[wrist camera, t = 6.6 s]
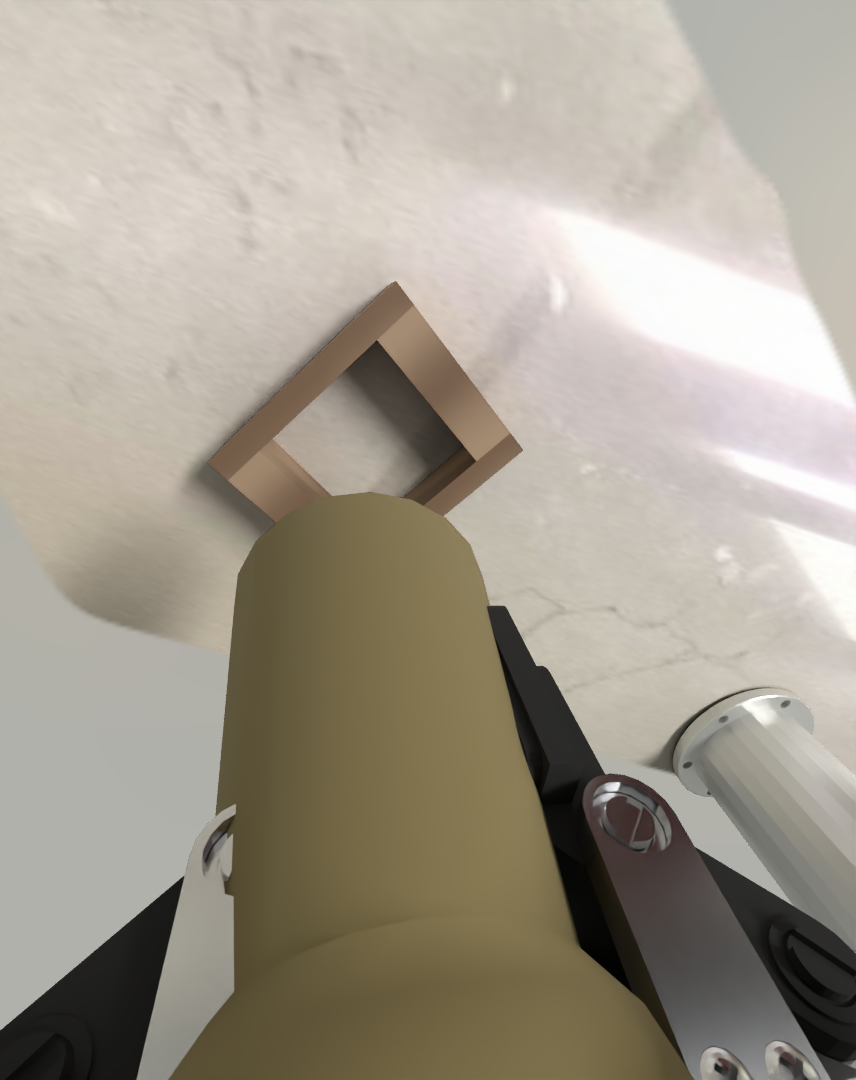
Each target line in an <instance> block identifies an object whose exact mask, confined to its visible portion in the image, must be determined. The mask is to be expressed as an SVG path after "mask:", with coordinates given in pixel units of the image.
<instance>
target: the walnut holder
mask: <svg viewBox="0 0 856 1080" xmlns="http://www.w3.org/2000/svg"><path fill="white" fill-rule="evenodd" d="M376 340H377V341H378V342H379V343H380V344H381V345H382V347H383V348H384V349H385V350H386V352H387V353H388V354H389V355H390V356H391V358H392V359H393V360H394V361H395V362H396V364H397V365H398V366H399V367H400V369H401V370H402V371H403V372H404V373H405V375H406V376H407V377H408V378H409V380H410V381H411V382H412V383H413V384H414V386H415V387H416V388H417V389H418V391H419V392H420V393H421V394H422V395H423V397H424V398H425V399H426V400H427V401H428V403H429V404H430V405H431V406H432V408H433V409H434V410H435V411H436V412H437V414H438V415H439V416H440V417H441V419H442V420H443V421H444V422H445V423H446V425H447V426H448V427H449V428H450V429H451V431H452V432H453V433H454V434H455V436H456V437H457V438H458V439H459V440H460V442H461V443H462V444H463V445H464V447H462V448H461V449H460V450H459V451H458V452H457V453H455V454H454V455H453V456H452V457H451V458H449V459H448V460H447V461H446V462H445V463H444V464H442V465H441V466H440V467H439V468H438V469H437V470H435V471H434V472H433V473H432V474H431V475H429V476H428V477H427V478H426V479H425V480H424V481H422V482H421V483H420V484H419V485H418V486H417V487H415V488H414V489H413V490H412V491H411V492H409V493H408V494H407V495H406V496H405V497H404V498H405V499H410V500H413V501H415V502H417V503H419V504H421V505H422V506H424V507H426V508H428V509H430V510H432V511H434V512H435V513H437V514H439V515H441V516H444V515H445V514H447V513H448V512H449V511H450V510H451V509H453V508H454V507H455V506H456V505H457V504H459V503H460V502H461V501H462V500H464V499H465V498H466V497H467V496H468V495H470V494H471V493H472V492H473V491H474V490H476V489H477V488H478V487H479V486H481V485H482V484H483V483H484V482H485V481H487V480H488V479H489V478H490V477H491V476H493V475H494V474H495V473H496V472H498V471H499V470H500V469H501V468H502V467H504V466H505V465H506V464H507V463H508V462H510V461H511V460H512V459H513V458H515V457H516V456H517V455H518V454H519V453H521V452H522V451H523V449H522V448H521V447H520V445H519V444H518V443H517V441H516V440H515V439H514V437H513V436H512V435H511V433H510V432H509V431H508V429H507V428H506V427H505V425H504V424H503V423H502V421H501V420H500V419H499V417H498V416H497V415H496V413H495V412H494V411H493V409H492V408H491V407H490V405H489V404H488V403H487V401H486V400H485V399H484V397H483V396H482V395H481V393H480V392H479V391H478V389H477V388H476V387H475V385H474V384H473V383H472V381H471V380H470V379H469V377H468V376H467V375H466V373H465V372H464V371H463V369H462V368H461V367H460V365H459V364H458V363H457V362H456V360H455V359H454V358H453V356H452V355H451V354H450V352H449V351H448V350H447V348H446V347H445V346H444V344H443V343H442V342H441V340H440V339H439V338H438V336H437V335H436V334H435V332H434V331H433V330H432V328H431V327H430V326H429V324H428V323H427V322H426V320H425V319H424V318H423V316H422V315H421V314H420V312H419V311H418V310H417V308H416V307H415V306H414V304H413V303H412V302H411V300H410V299H409V298H408V296H407V295H406V294H405V292H404V291H403V290H402V288H401V287H400V286H399V284H398V283H397V282H396V281H395V282H393V283H391V284H390V285H389V286H388V287H387V288H386V289H385V290H383V291H382V292H381V293H380V294H379V295H378V296H377V297H376V298H375V299H374V300H373V301H372V302H371V303H370V304H369V305H368V306H367V307H366V308H365V309H364V310H363V311H362V312H361V313H360V314H359V315H358V316H357V317H356V318H354V319H353V320H352V321H351V322H350V323H349V324H348V325H347V326H346V327H345V328H344V329H343V330H342V331H341V332H340V333H339V334H338V335H337V336H336V337H335V338H334V339H333V340H332V341H331V342H330V343H329V344H328V345H326V346H325V347H324V348H323V349H322V350H321V351H320V352H319V353H318V354H317V355H316V356H315V357H314V358H313V359H312V360H311V361H310V362H309V363H308V364H307V365H306V366H305V367H304V368H303V369H302V370H301V371H300V372H299V373H297V374H296V375H295V376H294V377H293V378H292V379H291V380H290V381H289V382H288V383H287V384H286V385H285V386H284V387H283V388H282V389H281V390H280V391H279V392H278V393H277V394H276V395H275V396H274V397H273V398H272V399H271V400H270V401H268V402H267V403H266V404H265V405H264V406H263V407H262V408H261V409H260V410H259V411H258V412H257V413H256V414H255V415H254V416H253V417H252V418H251V419H250V420H249V421H248V422H247V423H246V424H245V425H244V426H243V427H242V428H240V429H239V430H238V431H237V432H236V433H235V434H234V435H233V436H232V437H231V438H230V439H229V440H228V441H227V442H226V443H225V444H224V445H223V446H222V447H221V448H220V449H219V450H218V451H217V453H216V454H215V455H214V456H213V457H212V458H211V459H210V461H209V462H208V464H209V465H210V466H211V467H212V468H214V469H215V470H216V471H217V472H218V473H219V474H221V475H222V476H223V477H224V478H225V479H226V480H227V481H229V482H230V483H231V484H232V485H233V486H234V487H236V488H237V489H238V490H239V491H240V492H241V493H243V494H244V495H245V496H246V497H247V498H248V499H249V500H251V501H252V502H253V503H254V504H255V505H256V506H258V507H259V508H260V509H261V510H262V511H263V512H265V513H266V514H267V515H268V516H269V517H270V518H271V519H273V520H274V521H275V522H276V523H277V522H278V521H279V520H281V519H282V518H283V517H284V516H285V515H286V514H288V513H291V512H293V511H295V510H297V509H300V508H302V507H304V506H307V505H309V504H311V503H314V502H316V501H318V500H321V499H323V498H325V497H331V495H330V494H329V493H328V492H327V491H326V490H325V489H324V488H323V487H322V486H321V485H320V484H319V483H318V482H317V481H316V480H314V479H313V478H312V477H311V476H310V475H309V474H308V473H307V472H306V471H305V470H304V469H303V468H302V467H301V466H300V465H299V464H298V463H297V462H296V461H295V460H294V459H293V458H291V457H290V456H289V455H288V454H287V453H286V452H285V451H284V450H283V449H282V448H281V447H280V446H279V445H278V444H277V443H276V442H275V441H274V440H273V439H272V438H274V437H275V436H276V435H277V434H278V433H279V432H280V431H281V430H282V429H283V428H284V427H285V426H286V425H287V424H288V423H289V422H291V421H292V420H293V419H294V418H295V417H296V416H297V415H298V414H299V413H300V412H301V411H302V410H303V409H304V408H305V407H306V406H307V405H309V404H310V403H311V402H312V401H313V400H314V399H315V398H316V397H317V396H318V395H319V394H320V393H321V392H322V391H323V390H324V389H326V388H327V387H328V386H329V385H330V384H331V383H332V382H333V381H334V380H335V379H336V378H337V377H338V376H339V375H340V374H341V373H342V372H344V371H345V370H346V369H347V368H348V367H349V366H350V365H351V364H352V363H353V362H354V361H355V360H356V359H357V358H358V357H359V356H361V355H362V354H363V353H364V352H365V351H366V350H367V349H368V348H369V347H370V346H371V345H372V344H373V343H374V342H375V341H376Z"/></svg>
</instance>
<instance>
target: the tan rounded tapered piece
mask: <svg viewBox="0 0 856 1080" xmlns="http://www.w3.org/2000/svg"><path fill="white" fill-rule="evenodd" d="M487 606H490V604H489V600H488V596H487V592H486V589H485V585H484V581H483V577H482V574H481V571H480V569H479V566H478V564H477V561H476V559H475V556H474V553H473V551H472V548H471V546H470V544H469V543H468V542H467V541H466V540H465V538H464V537H463V536H462V535H461V534H460V533H459V532H458V531H457V530H456V529H455V527H454V526H453V525H452V524H451V523H450V522H449V521H448V520H447V519H446V518H445V517H443V516H441V515H439V514H437V513H435V512H434V511H432V510H430V509H428V508H426V507H424V506H422V505H421V504H419V503H417V502H415V501H413V500H410V499H405V498H400V497H394V496H389V495H383V494H378V493H373V492H366V493H357V494H348V495H340V496H331V497H325V498H323V499H321V500H318V501H316V502H314V503H311V504H309V505H307V506H304V507H302V508H300V509H297V510H295V511H293V512H291V513H288V514H286V515H285V516H284V517H283V518H282V519H281V520H279V521H278V522H277V523H276V524H275V525H274V526H273V527H272V528H270V529H269V530H268V531H267V532H266V533H265V534H264V535H262V536H261V537H260V538H259V539H258V540H257V541H256V542H255V544H254V546H253V548H252V550H251V551H250V553H249V555H248V557H247V559H246V561H245V562H244V564H243V566H242V568H241V570H240V572H239V573H238V579H237V588H236V597H235V606H234V616H233V627H232V639H231V650H230V661H229V672H228V684H227V694H226V706H225V717H224V727H223V738H222V750H221V761H220V773H219V783H218V794H217V805H216V816H217V815H218V814H219V813H220V812H221V811H223V810H225V809H227V808H229V807H231V806H233V805H234V804H236V814H235V816H234V818H233V820H232V822H231V824H230V827H229V829H228V831H227V839H228V838H229V837H230V836H231V835H232V834H233V847H232V871H231V875H230V879H229V880H228V881H224V887H225V893H224V894H227V895H231V896H233V905H234V992H233V993H232V995H231V996H230V997H229V998H228V999H227V1001H226V1002H225V1003H224V1004H223V1005H222V1007H221V1008H220V1009H219V1010H218V1012H217V1013H216V1014H215V1015H214V1016H213V1018H212V1019H211V1020H210V1021H209V1022H208V1024H207V1025H206V1026H205V1028H204V1029H203V1031H202V1032H201V1034H200V1035H199V1036H198V1038H197V1039H196V1041H195V1042H194V1044H193V1045H192V1046H191V1048H190V1049H189V1051H188V1052H187V1054H186V1055H185V1056H184V1058H183V1059H182V1061H181V1062H180V1063H179V1065H178V1066H177V1068H176V1069H175V1071H174V1072H173V1073H172V1075H171V1076H170V1078H169V1079H168V1080H695V1079H694V1078H693V1076H692V1075H691V1073H690V1072H689V1070H688V1069H687V1067H686V1066H685V1064H684V1063H683V1061H682V1060H681V1058H680V1057H679V1055H678V1054H677V1052H676V1051H675V1049H674V1047H673V1046H672V1044H671V1043H670V1041H669V1040H668V1038H667V1037H666V1035H665V1034H664V1032H663V1031H662V1029H661V1028H660V1026H659V1025H658V1023H657V1022H656V1020H655V1019H654V1017H653V1016H652V1014H651V1013H650V1011H649V1010H648V1008H647V1007H646V1005H645V1004H644V1003H643V1002H642V1001H641V1000H640V999H638V998H637V997H636V996H635V995H634V994H633V993H632V992H630V991H629V990H628V989H627V988H626V987H625V986H624V985H622V984H621V983H620V982H619V981H618V980H617V979H616V978H614V977H613V976H612V975H611V974H610V973H609V972H607V971H606V970H605V969H604V968H603V967H602V966H601V965H599V964H598V963H597V962H596V961H595V960H594V959H593V958H591V957H590V956H589V955H588V954H587V953H586V952H585V951H583V950H582V949H581V947H580V944H579V940H578V936H577V932H576V928H575V925H574V921H573V917H572V913H571V910H570V906H569V902H568V898H567V894H566V891H565V887H564V883H563V879H562V876H561V872H560V868H559V864H558V860H557V857H556V853H555V849H554V847H553V843H552V840H551V836H550V832H549V828H548V824H547V821H546V817H545V813H544V809H543V805H542V803H541V800H540V797H539V794H538V790H537V788H536V786H535V783H534V781H533V779H532V776H531V774H530V771H529V768H528V765H527V762H526V758H525V754H524V751H523V747H522V744H521V741H520V737H519V734H518V731H517V728H516V724H515V718H514V713H513V709H512V705H511V700H510V696H509V692H508V688H507V684H506V680H505V676H504V672H503V668H502V664H501V660H500V656H499V652H498V649H497V645H496V642H495V638H494V635H493V631H492V627H491V623H490V619H489V615H488V610H487ZM216 816H215V817H216Z"/></svg>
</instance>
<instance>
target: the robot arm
mask: <svg viewBox="0 0 856 1080" xmlns="http://www.w3.org/2000/svg"><path fill="white" fill-rule="evenodd" d="M487 610H488V615H489V619H490V623H491V627H492V631H493V635H494V638H495V642H496V645H497V649H498V652H499V656H500V660H501V664H502V668H503V672H504V676H505V680H506V684H507V688H508V692H509V696H510V700H511V705H512V709H513V713H514V718H515V724H516V728H517V731H518V734H519V737H520V741H521V744H522V747H523V751H524V754H525V758H526V762H527V765H528V768H529V771H530V774H531V776H532V779H533V781H534V783H535V786H536V788H537V790H538V794H539V797H540V800H541V803H542V805H543V809H544V813H545V817H546V821H547V824H548V828H549V832H550V836H551V840H552V843H553V847H554V849H555V853H556V857H557V860H558V864H559V868H560V872H561V876H562V879H563V883H564V887H565V891H566V894H567V898H568V902H569V906H570V910H571V913H572V917H573V921H574V925H575V928H576V932H577V936H578V940H579V944H580V947H581V949H582V950H583V951H585V952H586V953H587V954H588V955H589V956H590V957H591V958H593V959H594V960H595V961H596V962H597V963H598V964H599V965H601V966H602V967H603V968H604V969H605V970H606V971H607V972H609V973H610V974H611V975H612V976H613V977H614V978H616V979H617V980H618V981H619V982H620V983H621V984H622V985H624V986H625V987H626V988H627V989H628V990H629V991H630V992H632V993H633V994H634V995H635V996H636V997H637V998H638V999H640V1000H641V1001H642V1002H643V1003H644V1004H645V1005H646V1007H647V1008H648V1010H649V1011H650V1013H651V1014H652V1016H653V1017H654V1019H655V1020H656V1022H657V1023H658V1025H659V1026H660V1028H661V1029H662V1031H663V1032H664V1034H665V1035H666V1037H667V1038H668V1040H669V1041H670V1043H671V1044H672V1046H673V1047H674V1049H675V1051H676V1052H677V1054H678V1055H679V1057H680V1058H681V1060H682V1061H683V1063H684V1064H685V1066H686V1067H687V1069H688V1070H689V1072H690V1073H691V1075H692V1076H693V1078H694V1079H695V1080H856V776H855V775H854V774H853V773H852V772H851V771H850V770H848V769H847V768H846V767H845V766H844V765H843V764H842V763H841V762H840V761H839V760H838V759H837V758H836V757H835V756H834V755H832V754H831V753H830V752H829V751H828V750H827V749H826V748H825V747H824V746H823V745H822V744H821V743H820V742H819V741H817V740H816V739H815V738H814V737H813V736H812V732H813V727H814V719H813V714H812V712H811V709H810V708H809V707H808V706H807V705H806V703H804V702H803V701H802V700H801V699H800V698H798V697H797V696H796V695H795V694H793V693H791V692H789V691H786V690H782V689H776V688H762V689H756V690H750V691H746V692H743V693H740V694H736V695H734V696H732V697H729V698H727V699H725V700H723V701H721V702H719V703H718V704H716V705H714V706H713V707H711V708H709V709H708V710H707V711H705V712H704V713H703V714H702V715H700V716H699V717H698V718H697V719H696V720H695V721H694V722H693V723H692V724H691V725H690V726H689V727H688V728H687V729H686V731H685V732H684V733H683V735H682V736H681V738H680V740H679V742H678V743H677V745H676V748H675V752H674V755H673V768H674V771H675V774H676V775H677V777H678V778H679V780H680V781H681V783H682V784H683V785H684V786H685V787H686V788H687V789H688V790H690V791H691V792H693V793H695V794H698V795H702V796H706V797H714V798H715V800H716V801H717V802H718V804H719V805H720V807H721V808H722V809H723V811H724V812H725V813H726V815H727V816H728V817H729V819H730V820H731V821H732V823H733V824H734V825H735V827H736V828H737V830H738V831H739V832H740V834H741V835H742V836H743V838H744V839H745V840H746V842H747V843H748V845H749V846H750V847H751V849H752V850H753V851H754V853H755V854H756V855H757V857H758V858H759V859H760V861H761V862H762V863H763V865H764V866H765V867H766V869H767V870H768V872H769V873H770V874H771V876H772V877H773V878H774V880H775V881H776V883H777V884H778V885H779V887H780V888H781V889H782V891H783V892H784V893H785V895H786V896H787V897H788V899H789V900H790V902H791V903H792V904H793V906H792V905H790V904H789V903H787V902H786V901H784V900H782V899H780V898H779V897H777V896H776V895H774V894H772V893H771V892H769V891H767V890H766V889H764V888H762V887H761V886H759V885H757V884H756V883H754V882H752V881H751V880H749V879H747V878H746V877H744V876H742V875H741V874H739V873H737V872H736V871H734V870H732V869H731V868H729V867H727V866H726V865H724V864H722V863H721V862H719V861H717V860H716V859H714V858H712V857H711V856H709V855H707V854H706V853H704V852H702V851H701V850H699V849H697V848H696V847H695V846H694V845H693V843H692V841H691V839H690V838H689V836H688V834H687V833H686V831H685V829H684V828H683V826H682V824H681V823H680V821H679V819H678V817H677V816H676V814H675V812H674V811H673V810H672V808H671V807H670V806H669V804H668V803H667V802H666V801H665V800H664V799H663V798H662V797H661V796H660V795H659V794H658V793H657V792H656V791H654V790H653V789H652V788H650V787H649V786H647V785H645V784H644V783H642V782H641V781H639V780H636V779H634V778H631V777H628V776H625V775H619V774H605V773H604V771H603V770H602V768H601V766H600V764H599V762H598V761H597V759H596V757H595V755H594V753H593V751H592V749H591V747H590V746H589V744H588V742H587V740H586V738H585V736H584V734H583V733H582V731H581V729H580V727H579V725H578V723H577V722H576V720H575V718H574V716H573V714H572V712H571V710H570V709H569V707H568V705H567V703H566V701H565V699H564V697H563V696H562V694H561V692H560V690H559V688H558V686H557V685H556V683H555V681H554V679H553V677H552V675H551V673H550V672H549V671H548V669H547V668H545V667H544V666H536V665H535V663H534V661H533V659H532V657H531V655H530V653H529V651H528V649H527V647H526V645H525V643H524V641H523V639H522V637H521V635H520V633H519V631H518V629H517V627H516V626H515V624H514V622H513V620H512V618H511V616H510V614H509V612H508V610H507V608H506V607H505V606H487ZM235 814H236V804H234V805H233V806H231V807H229V808H227V809H225V810H223V811H221V812H220V813H219V814H218V815H217V816H216V817H214V818H213V819H212V820H211V821H210V822H209V823H207V825H206V826H205V828H204V829H203V830H202V832H201V833H200V834H199V836H198V837H197V839H196V840H195V843H194V846H193V848H192V851H191V853H190V856H189V859H188V864H187V868H186V873H185V876H183V877H182V878H181V879H180V880H179V881H177V882H176V883H175V884H174V885H173V886H171V887H170V888H169V889H168V890H167V891H165V893H163V894H162V895H161V896H160V897H158V898H157V899H156V900H155V901H154V902H153V903H151V904H150V905H149V906H148V907H146V908H145V909H144V910H143V911H142V912H141V913H139V914H138V915H137V916H136V917H135V918H134V919H132V920H131V921H130V922H129V923H127V924H126V925H125V926H124V927H123V928H122V929H120V930H119V931H118V932H117V933H116V934H114V935H113V936H112V937H111V938H110V939H109V940H107V941H106V942H105V943H104V944H103V945H101V946H100V947H99V948H98V949H97V950H95V951H94V952H93V953H92V954H91V955H89V956H88V957H87V958H86V959H85V960H84V961H82V962H81V963H80V964H79V965H78V966H76V967H75V968H74V969H73V970H72V971H71V972H69V973H68V974H67V975H66V976H65V977H64V978H62V979H61V980H60V981H59V982H57V983H56V984H55V985H54V986H53V987H52V988H50V989H49V990H48V991H47V992H46V993H44V994H43V995H42V996H41V997H40V998H38V999H37V1000H36V1001H35V1002H34V1003H33V1004H31V1005H30V1006H29V1007H28V1008H27V1009H25V1010H24V1011H23V1012H22V1013H21V1014H19V1015H18V1016H17V1017H16V1018H15V1019H13V1020H12V1021H11V1022H10V1023H9V1024H8V1025H6V1026H5V1027H4V1028H3V1029H2V1030H0V1080H168V1079H169V1078H170V1076H171V1075H172V1073H173V1072H174V1071H175V1069H176V1068H177V1066H178V1065H179V1063H180V1062H181V1061H182V1059H183V1058H184V1056H185V1055H186V1054H187V1052H188V1051H189V1049H190V1048H191V1046H192V1045H193V1044H194V1042H195V1041H196V1039H197V1038H198V1036H199V1035H200V1034H201V1032H202V1031H203V1029H204V1028H205V1026H206V1025H207V1024H208V1022H209V1021H210V1020H211V1019H212V1018H213V1016H214V1015H215V1014H216V1013H217V1012H218V1010H219V1009H220V1008H221V1007H222V1005H223V1004H224V1003H225V1002H226V1001H227V999H228V998H229V997H230V996H231V995H232V993H233V992H234V905H233V896H231V895H227V894H224V893H225V887H224V881H228V880H229V879H230V875H231V871H232V847H233V834H232V835H231V836H230V837H229V838H228V839H227V831H228V829H229V827H230V824H231V822H232V820H233V818H234V816H235Z"/></svg>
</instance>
